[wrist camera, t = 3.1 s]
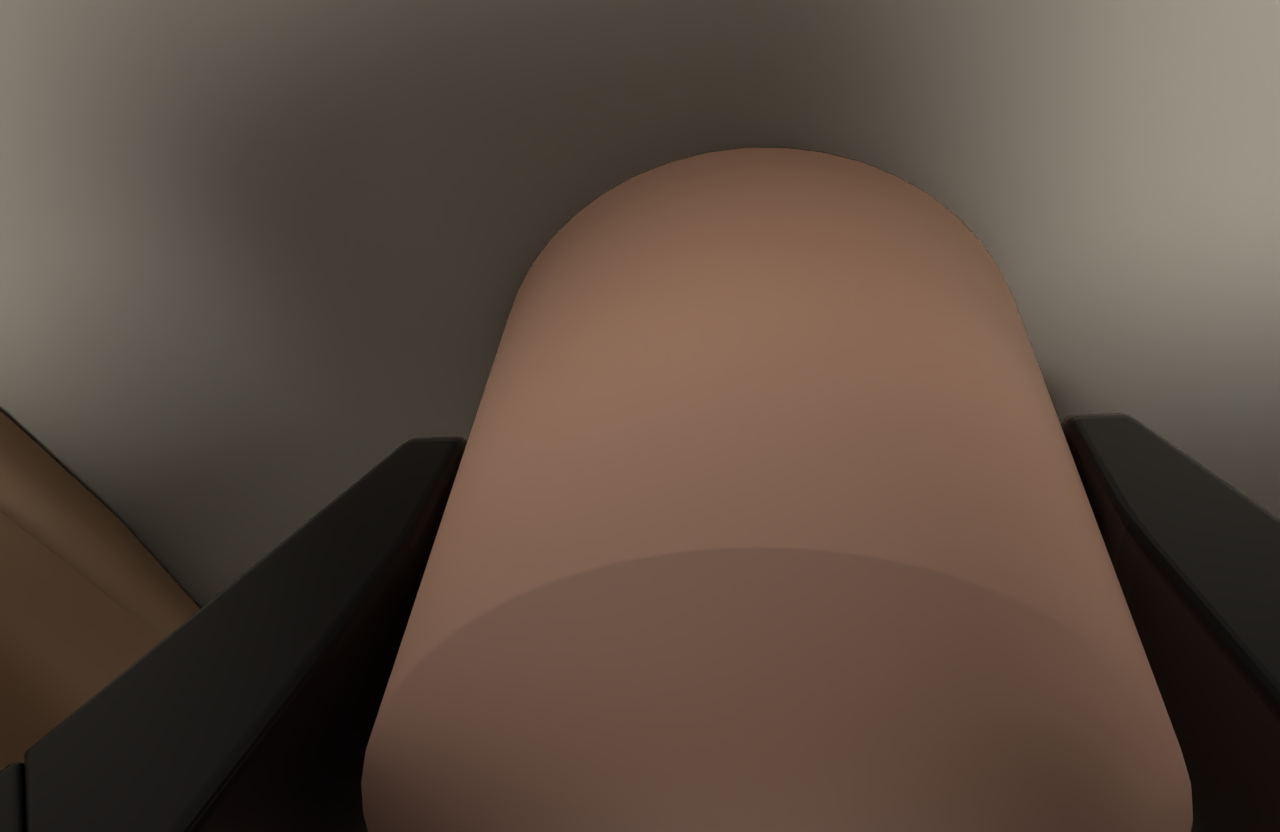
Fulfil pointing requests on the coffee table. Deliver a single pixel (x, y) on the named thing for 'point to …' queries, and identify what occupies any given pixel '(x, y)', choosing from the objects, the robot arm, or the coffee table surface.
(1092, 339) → the coffee table surface
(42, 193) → the coffee table surface
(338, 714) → the robot arm
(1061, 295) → the coffee table surface
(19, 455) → the ring tray
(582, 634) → the bead terracotta
